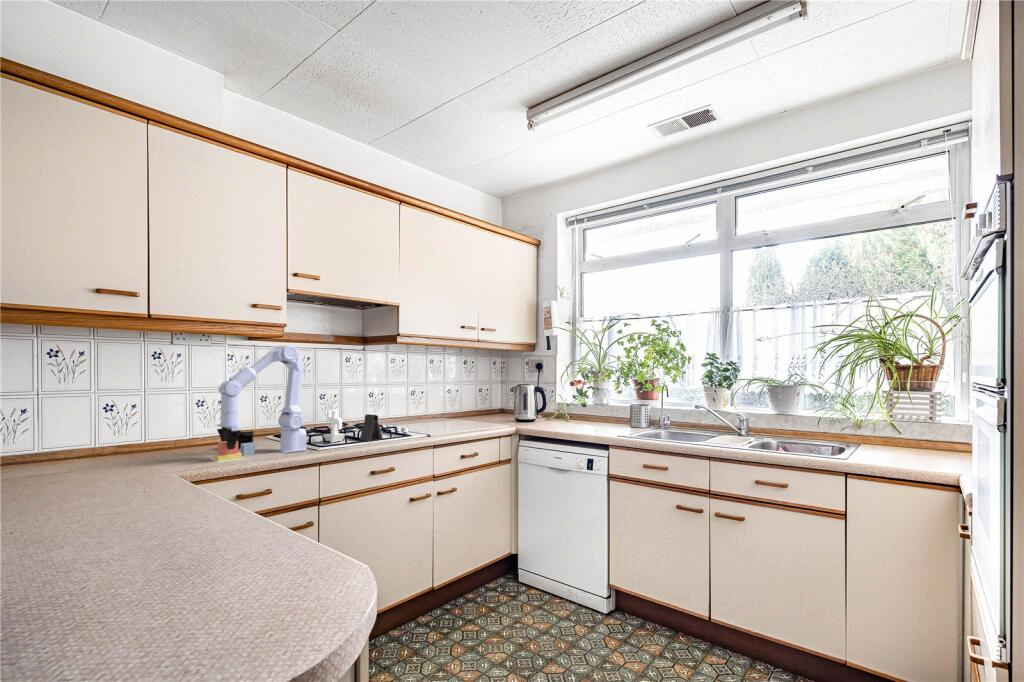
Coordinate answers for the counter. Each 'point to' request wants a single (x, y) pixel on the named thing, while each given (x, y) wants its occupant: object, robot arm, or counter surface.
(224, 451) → the red brick
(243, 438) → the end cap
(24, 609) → the counter surface
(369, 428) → the phone stand
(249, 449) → the blue brick
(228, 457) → the mustard brick
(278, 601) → the counter surface
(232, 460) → the baseplate
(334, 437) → the figurine
